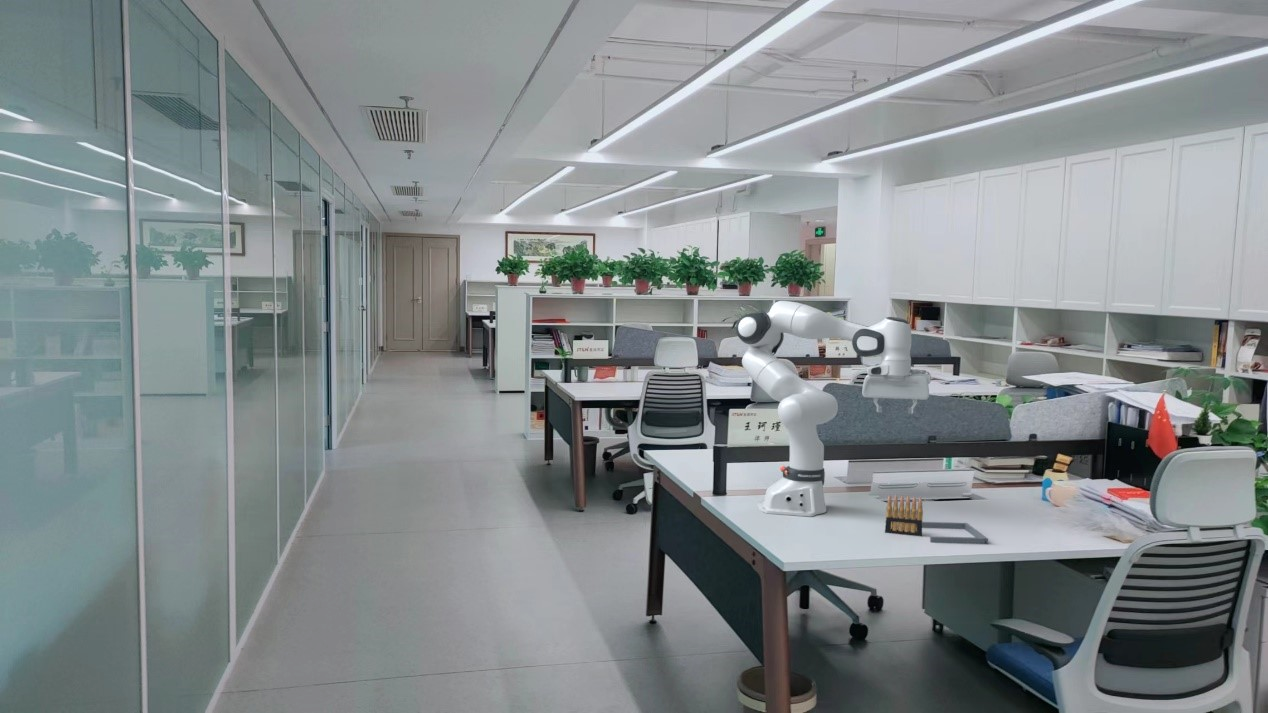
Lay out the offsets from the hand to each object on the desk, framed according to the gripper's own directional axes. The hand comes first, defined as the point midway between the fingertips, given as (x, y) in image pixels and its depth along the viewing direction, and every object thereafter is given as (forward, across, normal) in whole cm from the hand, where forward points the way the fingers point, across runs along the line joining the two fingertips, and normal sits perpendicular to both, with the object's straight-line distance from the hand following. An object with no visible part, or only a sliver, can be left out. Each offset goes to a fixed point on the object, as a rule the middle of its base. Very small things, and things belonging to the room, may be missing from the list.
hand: (894, 412), depth 271 cm
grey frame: (+35, -17, +11) cm, 40 cm away
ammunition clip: (+35, -4, +15) cm, 38 cm away
